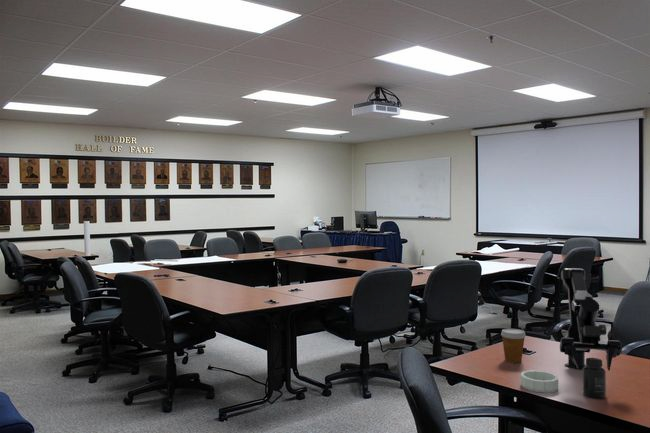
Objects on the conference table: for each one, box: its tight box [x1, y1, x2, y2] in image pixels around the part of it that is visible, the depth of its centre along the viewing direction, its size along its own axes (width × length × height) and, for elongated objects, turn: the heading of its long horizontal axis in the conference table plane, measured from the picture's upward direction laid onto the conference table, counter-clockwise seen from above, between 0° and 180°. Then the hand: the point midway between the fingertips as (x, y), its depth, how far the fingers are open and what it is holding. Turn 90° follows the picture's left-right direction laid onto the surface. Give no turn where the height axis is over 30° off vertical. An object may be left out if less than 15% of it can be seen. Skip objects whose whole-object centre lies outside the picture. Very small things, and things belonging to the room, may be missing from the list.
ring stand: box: [520, 369, 559, 394], centre depth 184 cm, size 12×12×4 cm
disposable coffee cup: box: [500, 328, 526, 363], centre depth 216 cm, size 10×10×12 cm
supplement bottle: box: [582, 357, 607, 400], centre depth 175 cm, size 7×7×12 cm
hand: (593, 368), depth 176 cm, fingers open, 9 cm apart
